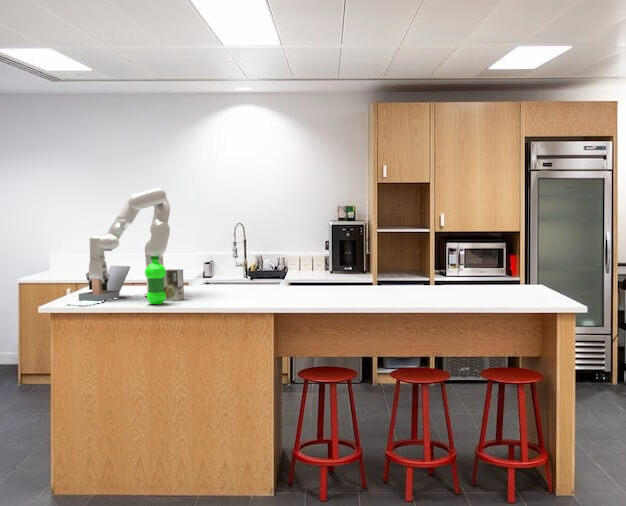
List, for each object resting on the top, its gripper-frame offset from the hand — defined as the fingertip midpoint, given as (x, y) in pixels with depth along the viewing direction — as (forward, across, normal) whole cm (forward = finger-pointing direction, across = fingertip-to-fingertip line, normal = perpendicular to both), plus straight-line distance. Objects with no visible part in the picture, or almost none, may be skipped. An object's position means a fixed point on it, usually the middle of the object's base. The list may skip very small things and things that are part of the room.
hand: (98, 289), depth 391 cm
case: (+5, 0, -5) cm, 7 cm away
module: (+6, 0, 0) cm, 6 cm away
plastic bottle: (+5, -41, 0) cm, 42 cm away
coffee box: (+5, -39, -16) cm, 43 cm away
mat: (+6, -4, +14) cm, 15 cm away
